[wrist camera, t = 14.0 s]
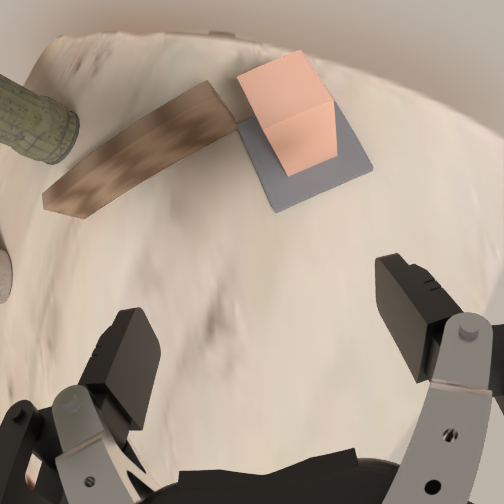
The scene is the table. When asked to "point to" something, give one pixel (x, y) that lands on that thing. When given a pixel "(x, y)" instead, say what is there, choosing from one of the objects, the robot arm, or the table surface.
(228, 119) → the walnut screen
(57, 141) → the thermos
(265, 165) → the charcoal mat
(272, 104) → the marked block
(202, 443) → the table surface
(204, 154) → the table surface
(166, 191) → the table surface
